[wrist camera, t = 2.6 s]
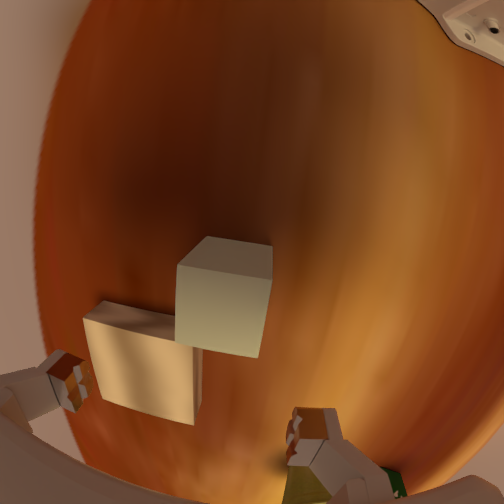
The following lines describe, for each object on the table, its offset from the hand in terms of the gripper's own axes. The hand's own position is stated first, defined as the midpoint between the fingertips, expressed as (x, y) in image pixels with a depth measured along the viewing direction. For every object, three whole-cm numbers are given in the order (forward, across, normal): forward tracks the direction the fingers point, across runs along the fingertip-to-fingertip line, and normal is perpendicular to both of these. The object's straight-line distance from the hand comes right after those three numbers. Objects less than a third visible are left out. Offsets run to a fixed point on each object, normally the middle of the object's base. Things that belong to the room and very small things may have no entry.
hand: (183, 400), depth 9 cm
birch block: (+14, +7, +9) cm, 18 cm away
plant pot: (+14, -13, +25) cm, 32 cm away
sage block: (+13, 0, -1) cm, 13 cm away
